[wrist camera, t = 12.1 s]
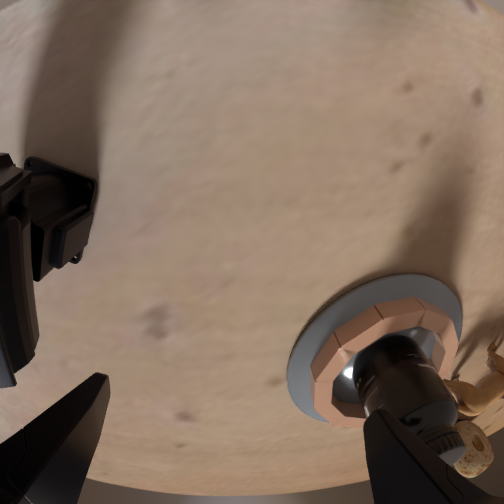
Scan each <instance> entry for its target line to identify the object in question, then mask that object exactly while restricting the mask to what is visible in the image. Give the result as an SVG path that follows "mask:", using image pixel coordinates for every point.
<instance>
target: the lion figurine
mask: <svg viewBox="0 0 504 504" xmlns="http://www.w3.org/2000/svg"><path fill="white" fill-rule="evenodd" d="M495 349H496V346H495V345H494V344H491V345H490V347H489V348H488V350H487V354H488V356H489V357H490V358H489V360H488V361H487V366H488V368H489V369H490V371H491V372H492V373H491V374H489V375H487V376H485V377H484V378H483V379H481V380H480V381H479V383H478V384H477V385H476V387H475V386H473V385H472V384H469V383H467V382H463V381H459V379H458V378H455V379H453V380H452V381H450V380H446V379H443V381H444V383H445V384H446V386H447V387H448V389H449V390H450V391H451V392H452V393H453V394H455V396H456V398H457V401H458V403H457V404H458V409H459V412H461V413H463V414H465V415H466V416H476V415H479V414H481V413H482V412H483V411H484V410H485V409H486V408H488V407H489V406H490V405H491V404H493V403H494V402H496V401H498V400H499V399H501V398H502V399H503V398H504V358H503V357H501V356H500V355H498V354H496V353H494V350H495ZM494 362H495V363H494ZM495 364H496V365H495Z"/></svg>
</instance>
